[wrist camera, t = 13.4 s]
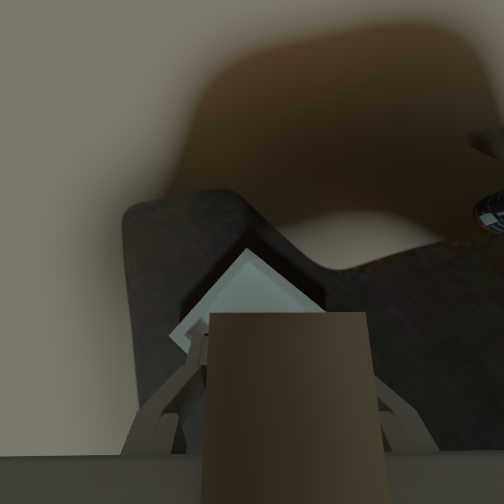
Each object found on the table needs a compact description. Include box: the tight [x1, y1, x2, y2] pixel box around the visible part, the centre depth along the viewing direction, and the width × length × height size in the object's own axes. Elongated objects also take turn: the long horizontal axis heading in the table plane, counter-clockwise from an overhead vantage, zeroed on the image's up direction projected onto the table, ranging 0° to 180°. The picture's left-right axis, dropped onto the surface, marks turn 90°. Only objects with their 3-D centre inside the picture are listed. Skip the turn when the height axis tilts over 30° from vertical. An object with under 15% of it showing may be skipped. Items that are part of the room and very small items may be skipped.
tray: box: [169, 248, 325, 354], centre depth 28 cm, size 14×14×4 cm
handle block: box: [200, 312, 391, 504], centre depth 11 cm, size 4×4×12 cm
